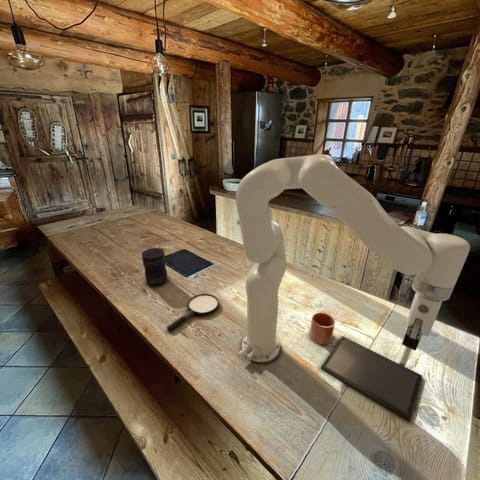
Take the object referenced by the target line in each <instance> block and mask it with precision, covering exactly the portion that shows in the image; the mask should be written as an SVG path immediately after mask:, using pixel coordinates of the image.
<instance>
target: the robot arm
mask: <svg viewBox="0 0 480 480" xmlns="http://www.w3.org/2000/svg"><path fill="white" fill-rule="evenodd" d="M293 189H294V190H295V189H302V190H303V191H304V192H306V194H307V195H308V196H310V197H311V198H312V199H314V200H315V201H317V202H318V203H319V204H321V205H322V206H323V207H324V208H325V209H327V210H328V211H329V212H330V213H332V214H333V215H334V216H335V217H336V218H338V219H339V220H341V221H342V222H343V223H344V224H345V225H346V227H348V229H349V230H350V231H351V232H352V233H353V234H354V235H355V236H356V237H357V238H358V239H359V240H360V241H361V242H362V244H363V245H365V247H367V248H368V249H369V250H370V251H371V252H372V253H373V254H374V255H375V256H376V257H378V258H379V259H380V260H382V261H383V262H384V263H386V264H387V265H388V266H389V267H390V268H392V269H393V270H395V271H397V272H399V273H401V274H404V275H408V276H409V275H410V276H414V278H413V281H412V284H411V288H412V290H413V291H414V292H415V294H414V296H413V300H412V303H411V305H410V309H409V312H408V317H407V321H406V325H405V327H406V329H407V330H406V331H405V334H404V337H403V340H402V342H401V344H402V346H404V347H408V348H411V349H412V350H413V351H417V350H418V346H419V343H420V342H421V338H422V336H424V337H429V336H430V335H431V332H432V329H433V326H434V325H435V321H436V319H437V316H438V315H439V312H440V309H441V306H442V303H443V301H447V300H449V299H450V297H451V295H452V293H453V291H454V289H455V285H456V283H457V281H458V279H459V276H460V274H461V271H462V270H463V267H464V265H465V262H466V261H467V257H468V256H469V253H470V250H471V246H470V243H469V241H467V240H466V239H465V238H463V237H460V236H457V235H454V234H451V233H450V234H449V233H435V232H430V231H426V230H422V229H419V228H416V227H412V226H400V225H399V224H398V223H397V222H396V221H395V220H394V219H393V218H392V217H391V216H390V215H389V214H388V213H387V211H386V210H385V209H384V208H383V206H382V205H381V203H380V202H379V201H378V199H377V198H376V197H375V196H374V195H373V194H372V193H371V192H370V191H368V190H367V189H366V188H365V187H364V186H362V185H361V184H360V183H358V182H357V181H356V180H354V179H353V178H352V177H350V176H349V175H348V174H347V173H346V172H344V171H343V170H342V169H340V168H339V167H338V166H337V163H336V161H335V160H334V159H333V158H332V156H330V155H327V154H324V153H317V154H310V155H301V156H293V157H292V156H291V157H283V158H275V159H272V160H269V161H267V162H264V163H263V164H260V165H258V166H257V167H255V168H254V169H252V170H251V171H249V172H248V173H247V174H246V175H245V176H244V177H243V178H241V180H240V182H239V183H238V186H237V188H236V192H235V202H236V204H235V205H236V209H237V214H238V219H239V227H240V234H241V240H242V246H243V250H244V254H245V256H246V258H247V259H248V260H249V261H250V262H252V263H254V264H253V266H252V267H251V268H250V270H249V272H248V274H247V276H246V279H245V293H246V335H245V336H244V338H243V339H242V340H241V341H242V342H241V349H240V351H238V352H237V357H238V358H239V359H243V358H244V357H246V358H247V360H249V361H250V360H251V361H253V362H256V363H267V362H271V361H273V360H274V359H276V358H277V357H278V356H279V353H280V348H281V346H280V341H279V340H278V339H277V326H278V314H279V290H280V286H281V283H282V281H283V277H284V276H285V273H286V270H287V255H286V247H285V238H284V233H283V230H282V227H281V226H280V225H279V223H277V222H276V221H274V220H273V219H272V216H271V215H272V214H271V210H270V207H269V202H270V201H271V200H273V199H274V198H276V197H278V196H279V195H281V193H283V192H284V190H293Z"/></svg>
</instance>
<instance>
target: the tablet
mask: <svg viewBox="0 0 480 480" xmlns="http://www.w3.org/2000/svg"><path fill="white" fill-rule="evenodd" d="M320 369H321V370H322V371H324V372H326V373H327V374H329V375H331V376H332V377H333V378H335V379H337V380H339V381H340V382H341V383H343V384H346V385H347V386H349V387H350V388H352V389H353V390H355V391H357V392H359V393H360V394H362V395H364V396H366V397H367V398H368V399H370V400H372V401H373V402H375V403H377V404H379V405H380V406H382V407H384V408H385V409H387V410H388V411H390V412H391V413H394V414H396V415H397V416H398V417H400V418H402V419H404V420H405V421H407V422H411V419H412V414H413V411H414V407H415V404H416V401H417V397H418V393H419V388H420V386H421V381H422V378H423V375H422V374H420V373H418V372H416V371H414V370H412V369H410V368H408V367H406V366H405V367H402V366H400V364H399V363H398V362H397V361H394V360H392V359H389V358H388V357H386V356H384V355H382V354H379V353H378V352H376V351H373V350H372V349H370V348H368V347H365V346H363V345H361V344H359V343H357V342H356V341H353V340H351V339H350V338H347V337H345V336H344V335H342V336H341V338H340V339H339V340H338V342H337V344H336V345H335V346H334V347H333V348H332V351H331V352H330V353H329V354H328V356H327V358H326V359H325V361H324V362H323V363H322V365H321V367H320Z"/></svg>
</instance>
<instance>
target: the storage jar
mask: <svg viewBox="0 0 480 480" xmlns="http://www.w3.org/2000/svg"><path fill="white" fill-rule="evenodd" d="M141 258H142V260H141V261H142V266H143V267H144V279H145V281H146V285H147V286H149V287H152V288H157V287H161V286H163V285H165V284H167V282H168V269H167V267H166V256H165V250H164V249H162V248H159V247H153V248H147V249H145V250H144V251H142V253H141Z"/></svg>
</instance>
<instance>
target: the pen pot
mask: <svg viewBox="0 0 480 480" xmlns="http://www.w3.org/2000/svg"><path fill="white" fill-rule="evenodd" d="M335 325H336V321H335V318H334V317H333V316H331V315H330V314H328V313H326V312H316V313H314V314H313V315H312V317H311V321H310V330H309V337H310V339H311V340H312V341H313V342H314V343H316V344H318V345H328V344H330V343H332V339H333V335H334V330H335Z"/></svg>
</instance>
